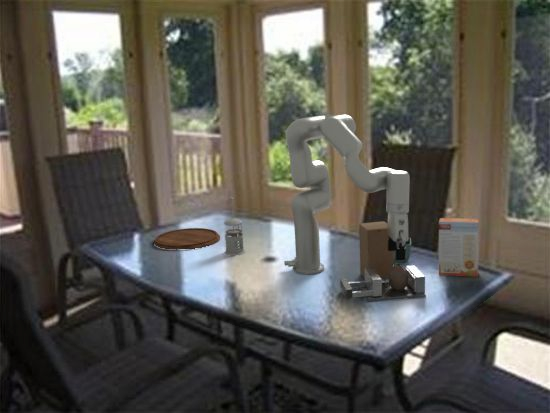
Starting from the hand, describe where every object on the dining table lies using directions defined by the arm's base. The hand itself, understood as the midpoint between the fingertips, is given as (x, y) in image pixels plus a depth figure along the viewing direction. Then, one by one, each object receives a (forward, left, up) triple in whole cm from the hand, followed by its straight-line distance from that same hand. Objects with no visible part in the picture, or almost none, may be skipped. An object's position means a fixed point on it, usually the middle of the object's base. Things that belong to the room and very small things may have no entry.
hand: (396, 255), depth 211 cm
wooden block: (-3, +16, -14) cm, 22 cm away
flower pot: (+10, +30, -14) cm, 35 cm away
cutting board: (-78, +85, -14) cm, 117 cm away
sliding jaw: (-13, -1, -12) cm, 18 cm away
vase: (0, 0, -12) cm, 12 cm away
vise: (-2, -1, -13) cm, 14 cm away
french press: (-55, +61, -14) cm, 84 cm away
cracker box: (+27, +12, -14) cm, 33 cm away
